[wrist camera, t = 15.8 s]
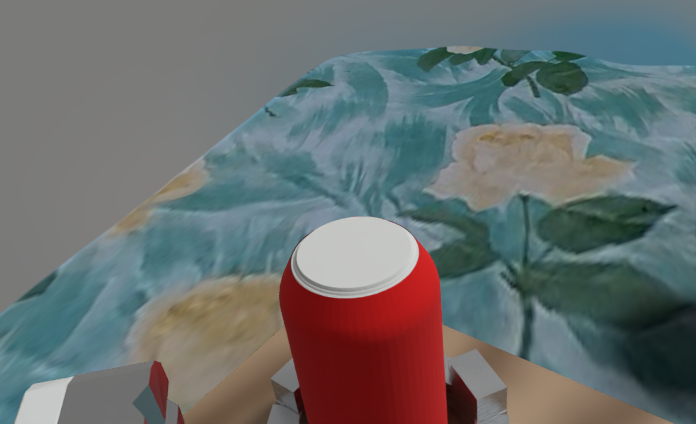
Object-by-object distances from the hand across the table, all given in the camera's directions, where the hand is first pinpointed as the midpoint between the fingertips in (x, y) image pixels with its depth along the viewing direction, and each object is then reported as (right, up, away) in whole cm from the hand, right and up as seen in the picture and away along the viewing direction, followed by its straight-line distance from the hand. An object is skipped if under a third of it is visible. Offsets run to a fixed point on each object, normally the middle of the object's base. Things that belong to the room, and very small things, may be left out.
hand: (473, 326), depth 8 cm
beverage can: (0, -10, +21) cm, 24 cm away
